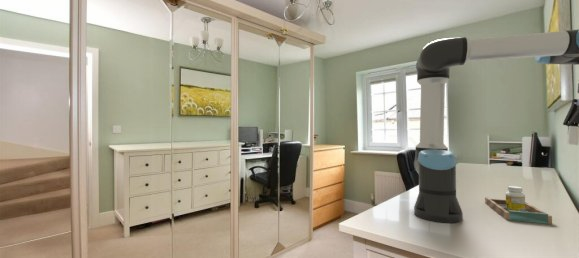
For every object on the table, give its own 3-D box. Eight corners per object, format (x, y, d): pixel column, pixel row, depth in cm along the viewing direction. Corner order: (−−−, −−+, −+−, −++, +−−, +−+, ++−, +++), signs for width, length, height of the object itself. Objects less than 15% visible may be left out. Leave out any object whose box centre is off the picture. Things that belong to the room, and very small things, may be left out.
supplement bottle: (526, 216, 91) (525, 189, 91) (506, 213, 94) (505, 187, 94) (524, 212, 95) (524, 186, 95) (505, 210, 98) (505, 185, 98)
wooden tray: (485, 203, 108) (485, 196, 108) (521, 206, 103) (521, 198, 103) (506, 219, 88) (505, 210, 88) (552, 224, 83) (551, 214, 83)
